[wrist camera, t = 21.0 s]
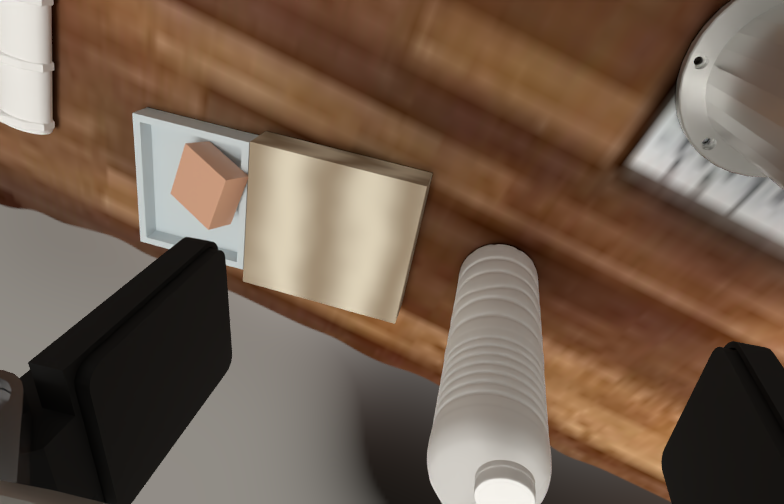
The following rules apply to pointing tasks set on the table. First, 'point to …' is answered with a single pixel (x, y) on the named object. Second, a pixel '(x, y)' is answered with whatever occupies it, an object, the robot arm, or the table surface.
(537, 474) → the water bottle
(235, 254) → the box
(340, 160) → the birch plate
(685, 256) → the table surface
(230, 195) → the terracotta tile
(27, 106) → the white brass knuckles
